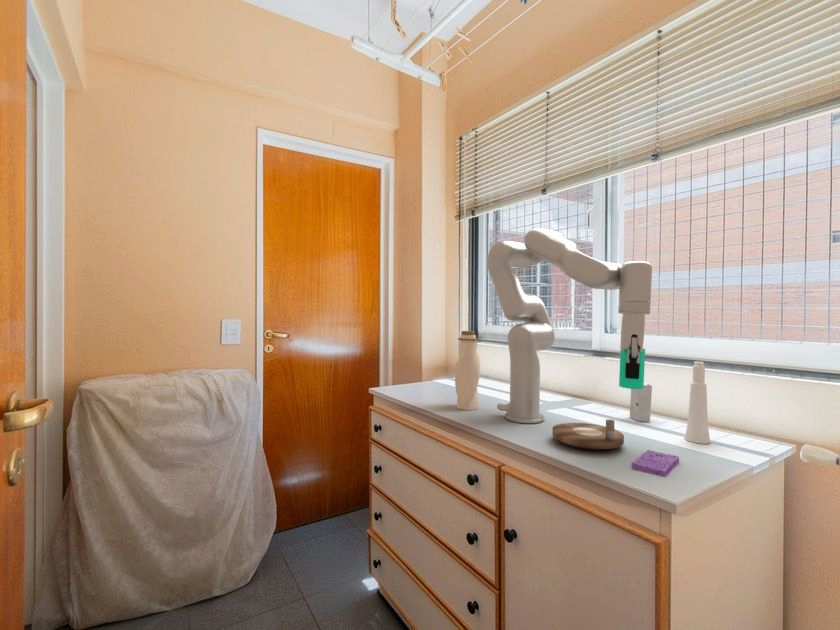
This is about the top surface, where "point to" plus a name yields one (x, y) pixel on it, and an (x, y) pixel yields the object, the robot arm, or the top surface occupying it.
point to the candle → (623, 380)
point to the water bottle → (467, 372)
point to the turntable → (589, 435)
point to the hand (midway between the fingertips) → (631, 376)
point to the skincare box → (641, 403)
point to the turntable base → (586, 448)
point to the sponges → (655, 462)
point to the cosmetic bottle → (698, 408)
